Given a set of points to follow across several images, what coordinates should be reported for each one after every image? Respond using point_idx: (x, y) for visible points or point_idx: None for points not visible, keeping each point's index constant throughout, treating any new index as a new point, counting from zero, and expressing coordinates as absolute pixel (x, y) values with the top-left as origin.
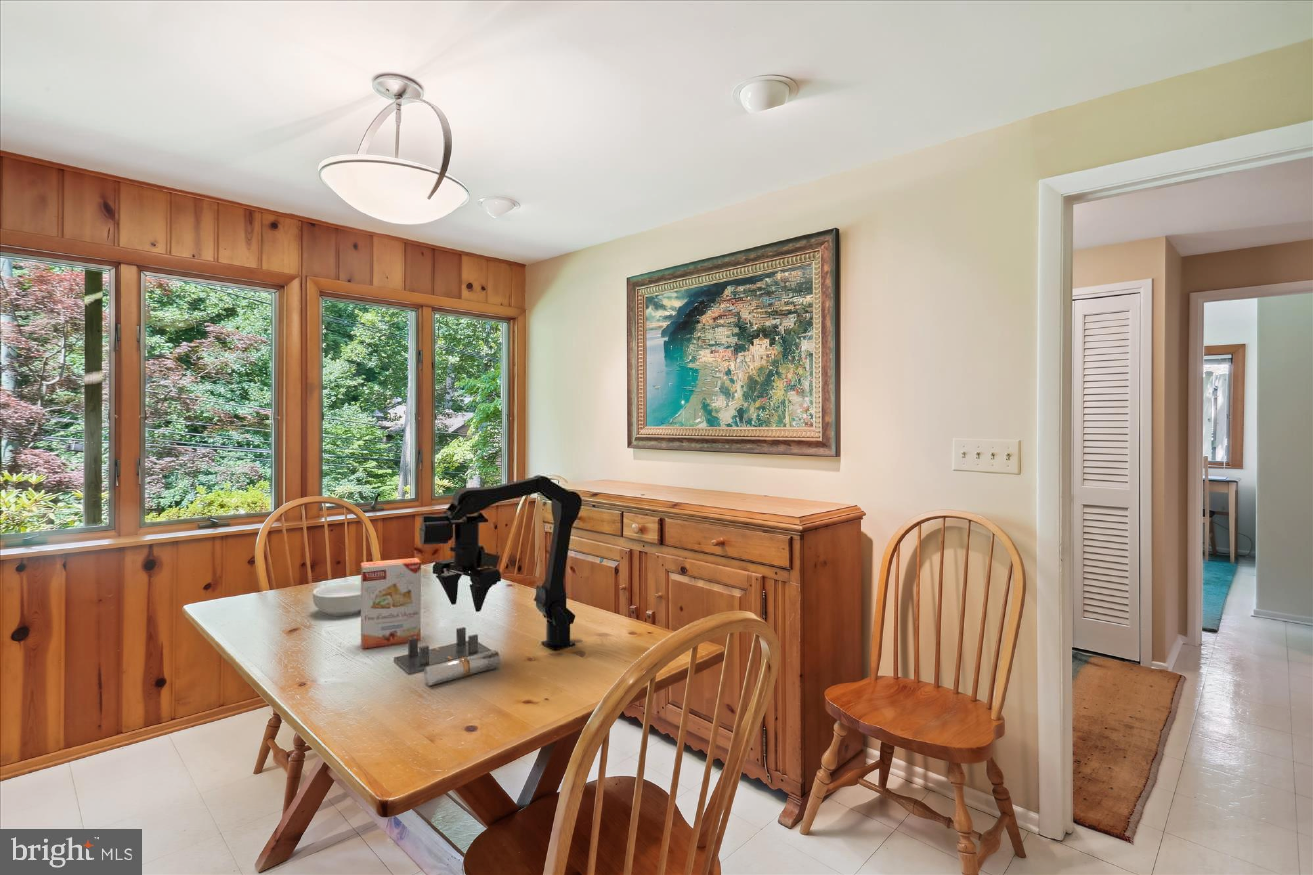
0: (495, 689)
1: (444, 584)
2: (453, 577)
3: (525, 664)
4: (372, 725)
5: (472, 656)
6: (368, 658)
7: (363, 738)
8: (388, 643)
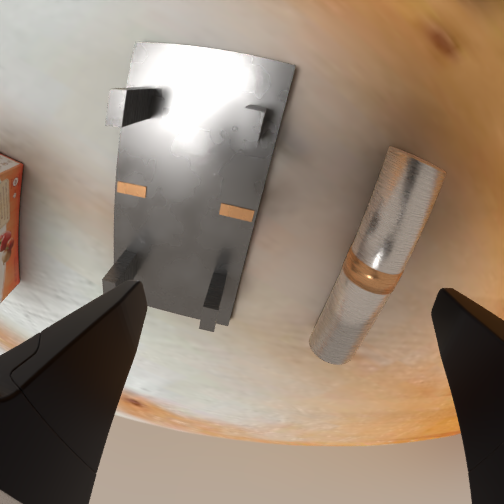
0: (479, 257)
1: (92, 478)
2: (21, 474)
3: (460, 87)
4: (362, 419)
5: (398, 256)
6: (70, 303)
7: (377, 429)
8: (16, 239)
